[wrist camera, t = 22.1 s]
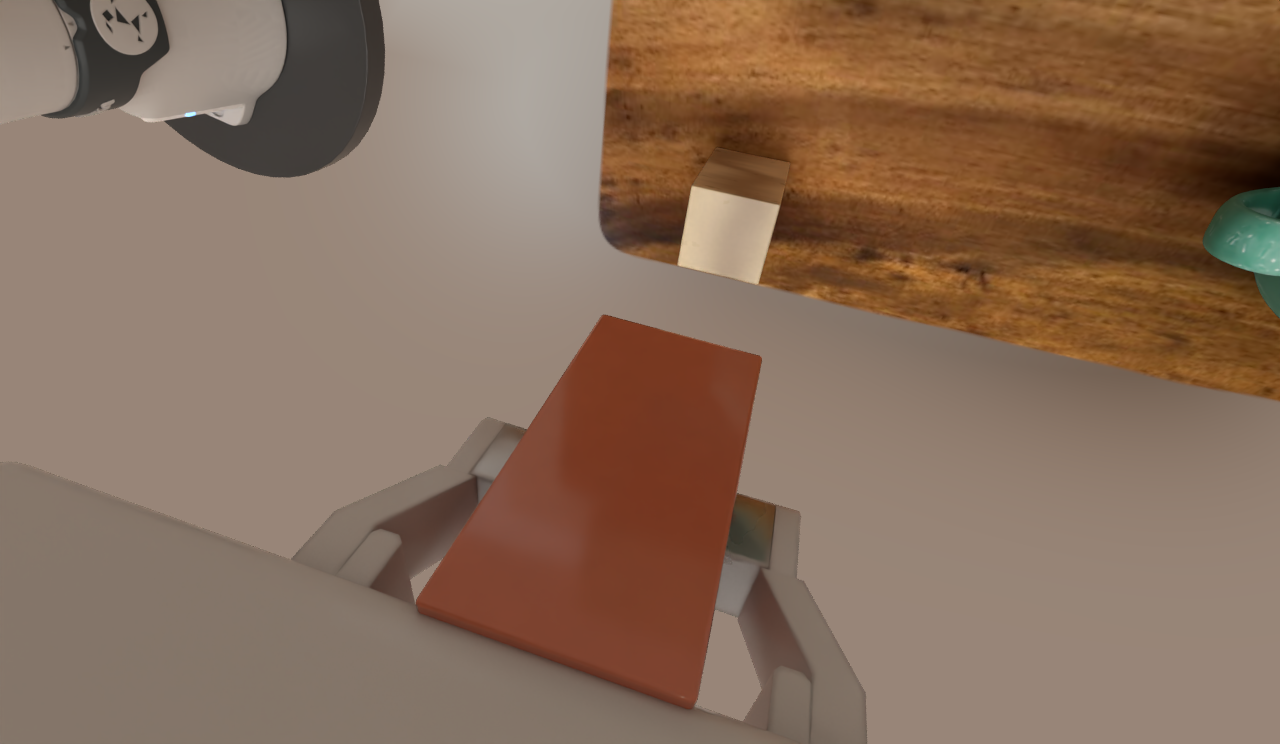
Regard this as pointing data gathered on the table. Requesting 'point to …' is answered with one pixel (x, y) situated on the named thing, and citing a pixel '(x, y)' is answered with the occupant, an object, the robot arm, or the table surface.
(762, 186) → the stand
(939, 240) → the table surface
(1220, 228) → the mug
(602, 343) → the block
